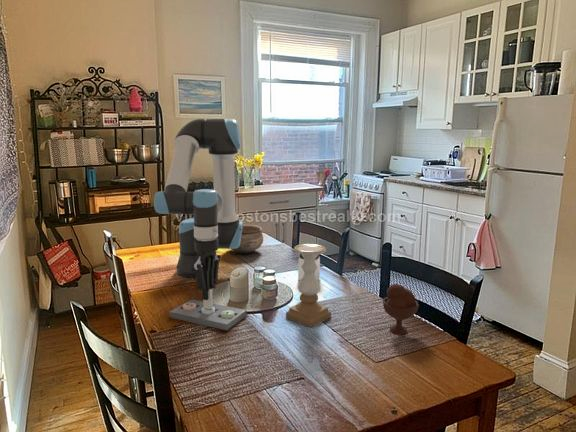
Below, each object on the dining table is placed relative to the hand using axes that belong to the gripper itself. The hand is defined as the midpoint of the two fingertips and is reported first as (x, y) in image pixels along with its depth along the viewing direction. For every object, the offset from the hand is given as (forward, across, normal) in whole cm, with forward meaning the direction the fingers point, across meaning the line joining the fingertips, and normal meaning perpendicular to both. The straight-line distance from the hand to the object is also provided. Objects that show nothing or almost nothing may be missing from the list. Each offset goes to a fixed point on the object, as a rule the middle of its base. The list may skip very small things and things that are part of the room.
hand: (208, 307), depth 147 cm
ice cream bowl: (+3, +17, -59) cm, 62 cm away
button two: (+4, 0, +8) cm, 9 cm away
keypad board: (+3, 0, 0) cm, 3 cm away
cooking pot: (+3, +72, +28) cm, 77 cm away
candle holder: (+3, +14, -30) cm, 33 cm away
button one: (+4, 0, -8) cm, 9 cm away
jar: (+3, +49, -16) cm, 52 cm away
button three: (+4, 0, 0) cm, 4 cm away
